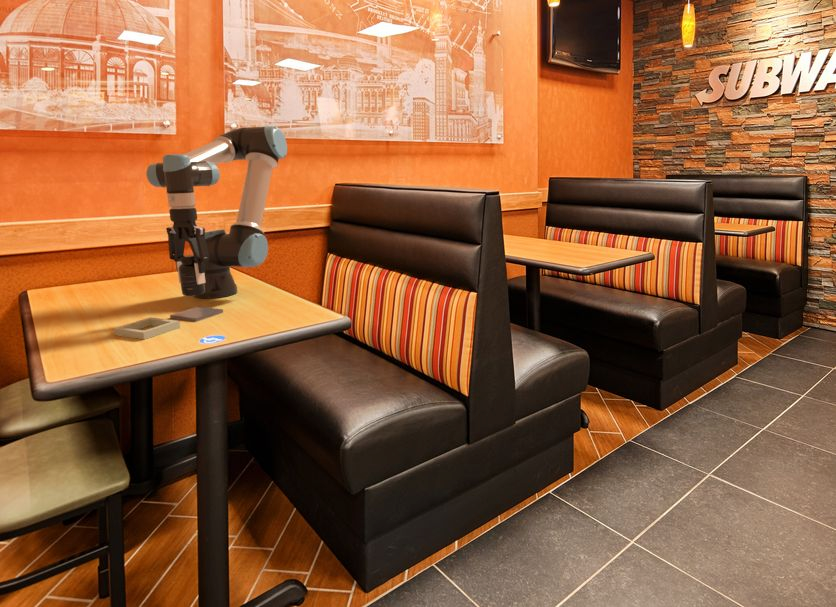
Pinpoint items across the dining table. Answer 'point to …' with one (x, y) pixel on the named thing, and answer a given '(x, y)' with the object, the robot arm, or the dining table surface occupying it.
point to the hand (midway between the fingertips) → (192, 282)
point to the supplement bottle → (189, 277)
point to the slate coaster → (196, 313)
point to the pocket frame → (133, 331)
